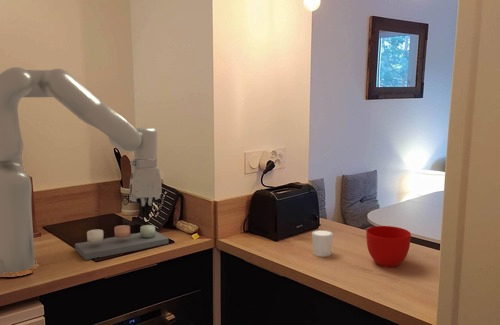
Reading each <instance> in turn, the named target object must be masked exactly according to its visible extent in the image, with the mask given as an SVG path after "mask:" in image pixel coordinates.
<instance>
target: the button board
mask: <svg viewBox="0 0 500 325" xmlns="http://www.w3.org/2000/svg"><path fill="white" fill-rule="evenodd" d="M169 241H170V240H169V238H168V237H167V236H165V235H164V234H161V233H160V232H158V231H156V230H155V236H153V237H148V238H145V237H141V235H140V232H137V233H130V236H129V237H126V238H116V237H115V236H113V237H106V238H104V240H103V241H102V242H98V243H89V242H87V241H84V242H77V243H74V249H75V251H76V253H78V254H79V255H80V256H81V257H82V258H83V259H84V260H85V261H88V260H94V259H99V258H104V257H109V256H113V255H114V256H115V255H119V254H124V253H129V252H134V251H139V250H140V251H141V250H145V249H149V248H153V247H156V246H157V247H158V246H162V245H167V244H169V243H170V242H169ZM98 257H99V258H98ZM93 258H94V259H93Z"/></svg>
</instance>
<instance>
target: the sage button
mask: <svg viewBox="0 0 500 325" xmlns="http://www.w3.org/2000/svg"><path fill="white" fill-rule="evenodd" d="M139 229H140V230H139V231H140V232H139V233H140V235H141V237H145V238H148V237H153V236H155V231H156V226H155V225H152V224H145V225H141V226H140V228H139Z"/></svg>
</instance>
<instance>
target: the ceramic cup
mask: <svg viewBox="0 0 500 325" xmlns="http://www.w3.org/2000/svg"><path fill="white" fill-rule="evenodd" d="M365 231H366V235H365V236H366V245H367V246H366V247H367V250H368V253H369V255H370V256H371V258H372V260H373V261H374V262H375V263H376V265H378V266H381V267H384V268H396V267H397V266H399V265H400V264H401V263H402V262H403V261H404V260H405V259H406V257H407V256H408V253H409V250H410V245H411V239H412V234H411V232H410V231H409V230H408V229H405V228H402V227H397V226H391V225H378V226H377V225H376V226H375V225H374V226H371V227H368V228H367V229H366V230H365Z"/></svg>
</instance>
